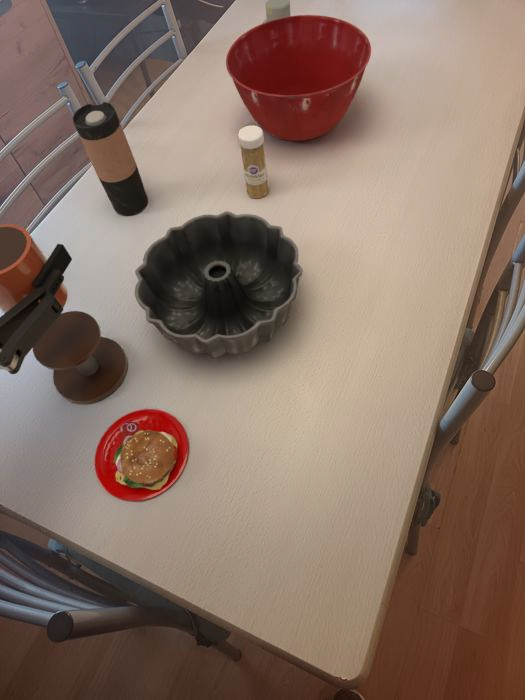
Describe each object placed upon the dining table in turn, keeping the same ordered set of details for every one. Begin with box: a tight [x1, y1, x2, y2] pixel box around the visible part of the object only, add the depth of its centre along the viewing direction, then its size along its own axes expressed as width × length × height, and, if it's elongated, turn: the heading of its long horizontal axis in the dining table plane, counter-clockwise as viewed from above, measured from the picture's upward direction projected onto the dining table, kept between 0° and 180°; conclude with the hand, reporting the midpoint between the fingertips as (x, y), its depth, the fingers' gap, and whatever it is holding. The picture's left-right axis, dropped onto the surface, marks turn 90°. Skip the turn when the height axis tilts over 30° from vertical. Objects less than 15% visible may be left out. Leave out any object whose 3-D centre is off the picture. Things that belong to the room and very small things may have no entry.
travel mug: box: [72, 101, 149, 217], centre depth 94 cm, size 8×8×20 cm
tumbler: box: [0, 223, 69, 314], centre depth 62 cm, size 8×8×10 cm
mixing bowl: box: [225, 14, 372, 142], centre depth 104 cm, size 28×28×16 cm
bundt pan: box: [134, 210, 304, 360], centre depth 82 cm, size 26×26×10 cm
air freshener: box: [261, 0, 291, 24], centre depth 124 cm, size 11×8×10 cm
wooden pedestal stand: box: [32, 310, 129, 405], centre depth 78 cm, size 12×12×10 cm
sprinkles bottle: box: [237, 124, 270, 199], centre depth 95 cm, size 5×5×13 cm
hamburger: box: [94, 408, 190, 502], centre depth 71 cm, size 14×14×6 cm
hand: (35, 246), depth 64 cm, fingers closed on tumbler, 8 cm apart
